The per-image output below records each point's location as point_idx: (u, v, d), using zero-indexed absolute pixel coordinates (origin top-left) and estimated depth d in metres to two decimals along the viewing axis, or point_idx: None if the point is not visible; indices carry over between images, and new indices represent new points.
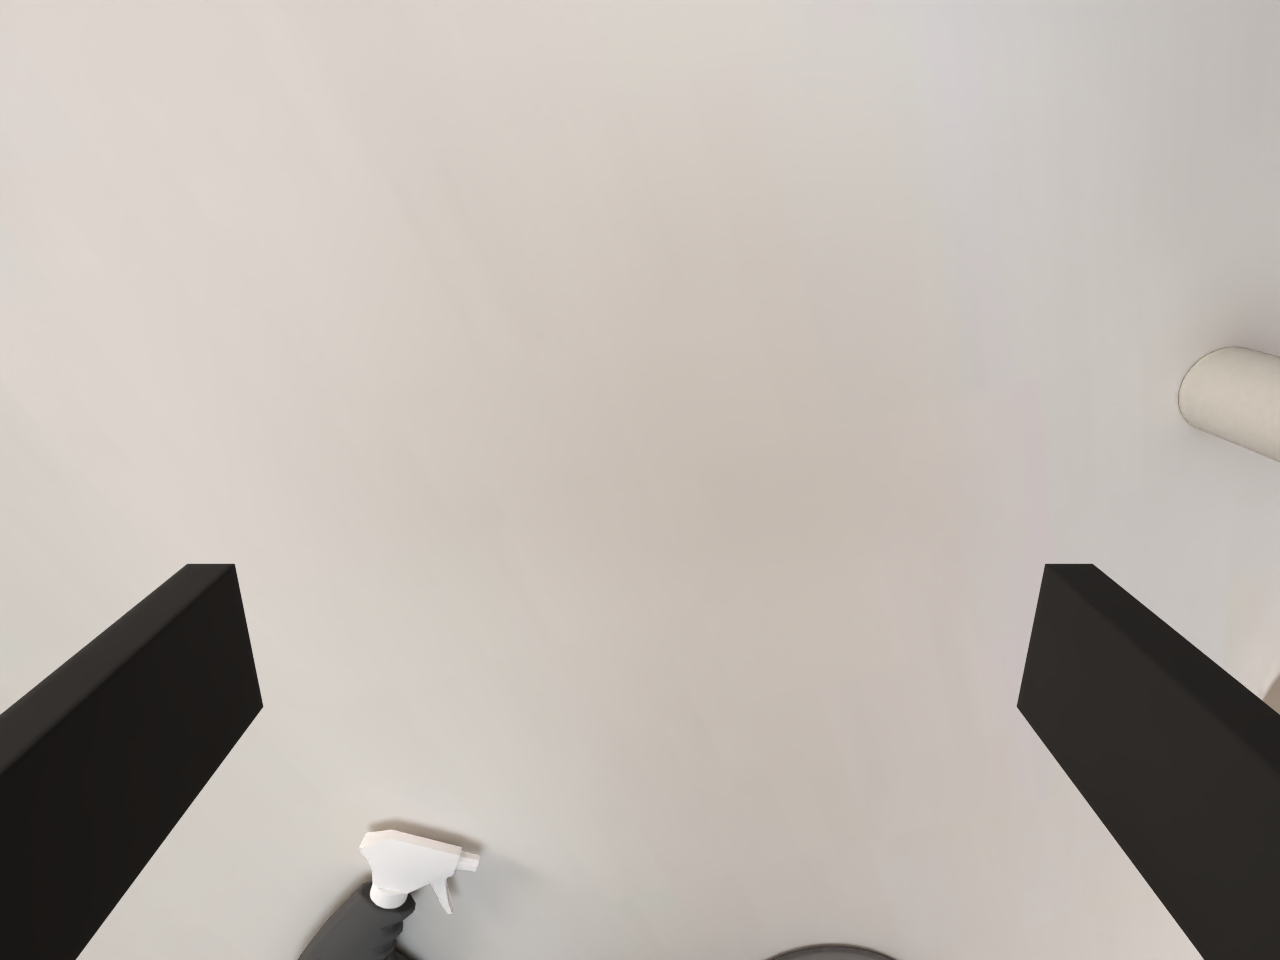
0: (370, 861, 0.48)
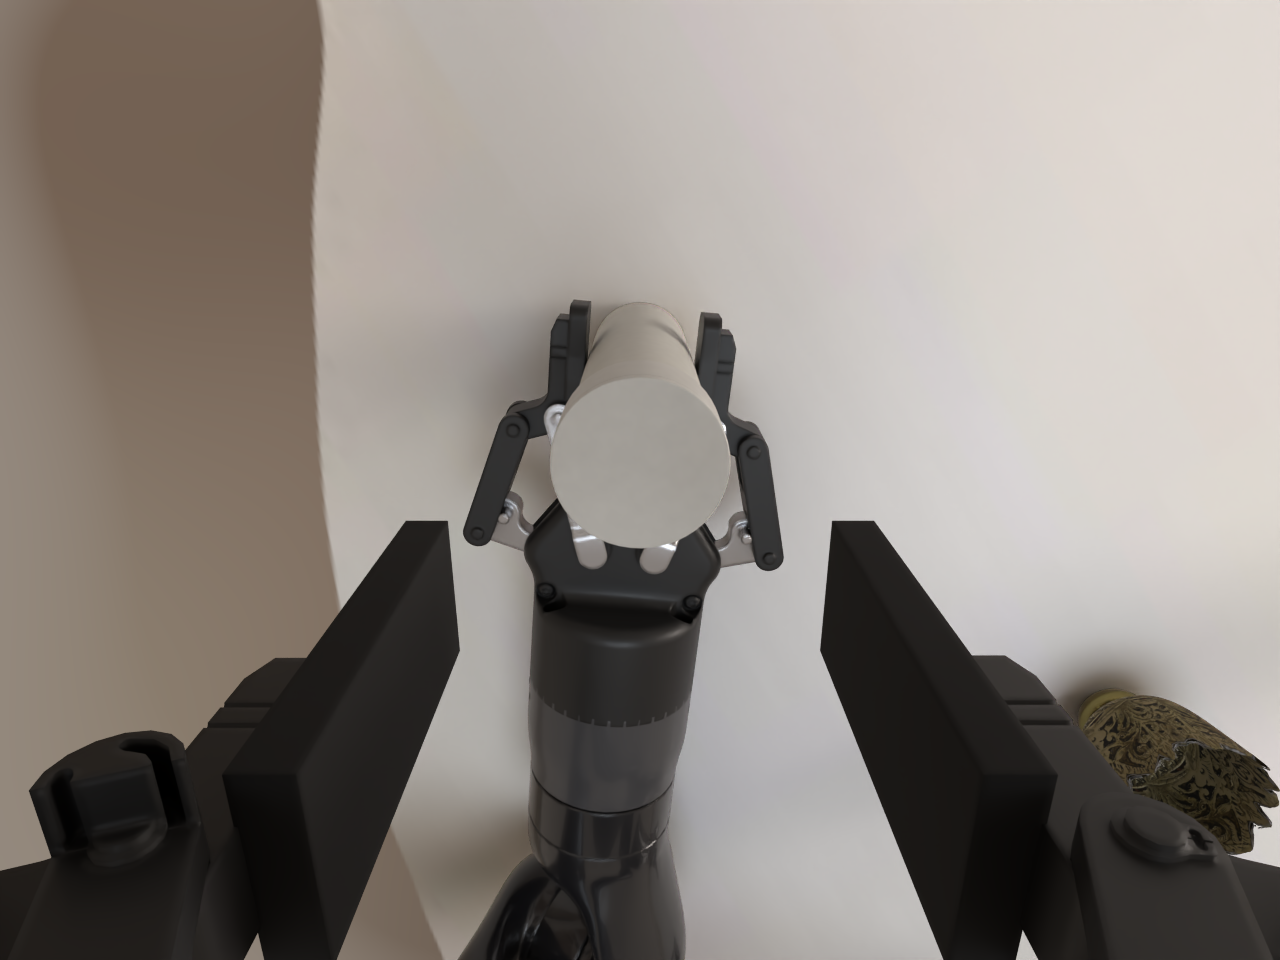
0: None
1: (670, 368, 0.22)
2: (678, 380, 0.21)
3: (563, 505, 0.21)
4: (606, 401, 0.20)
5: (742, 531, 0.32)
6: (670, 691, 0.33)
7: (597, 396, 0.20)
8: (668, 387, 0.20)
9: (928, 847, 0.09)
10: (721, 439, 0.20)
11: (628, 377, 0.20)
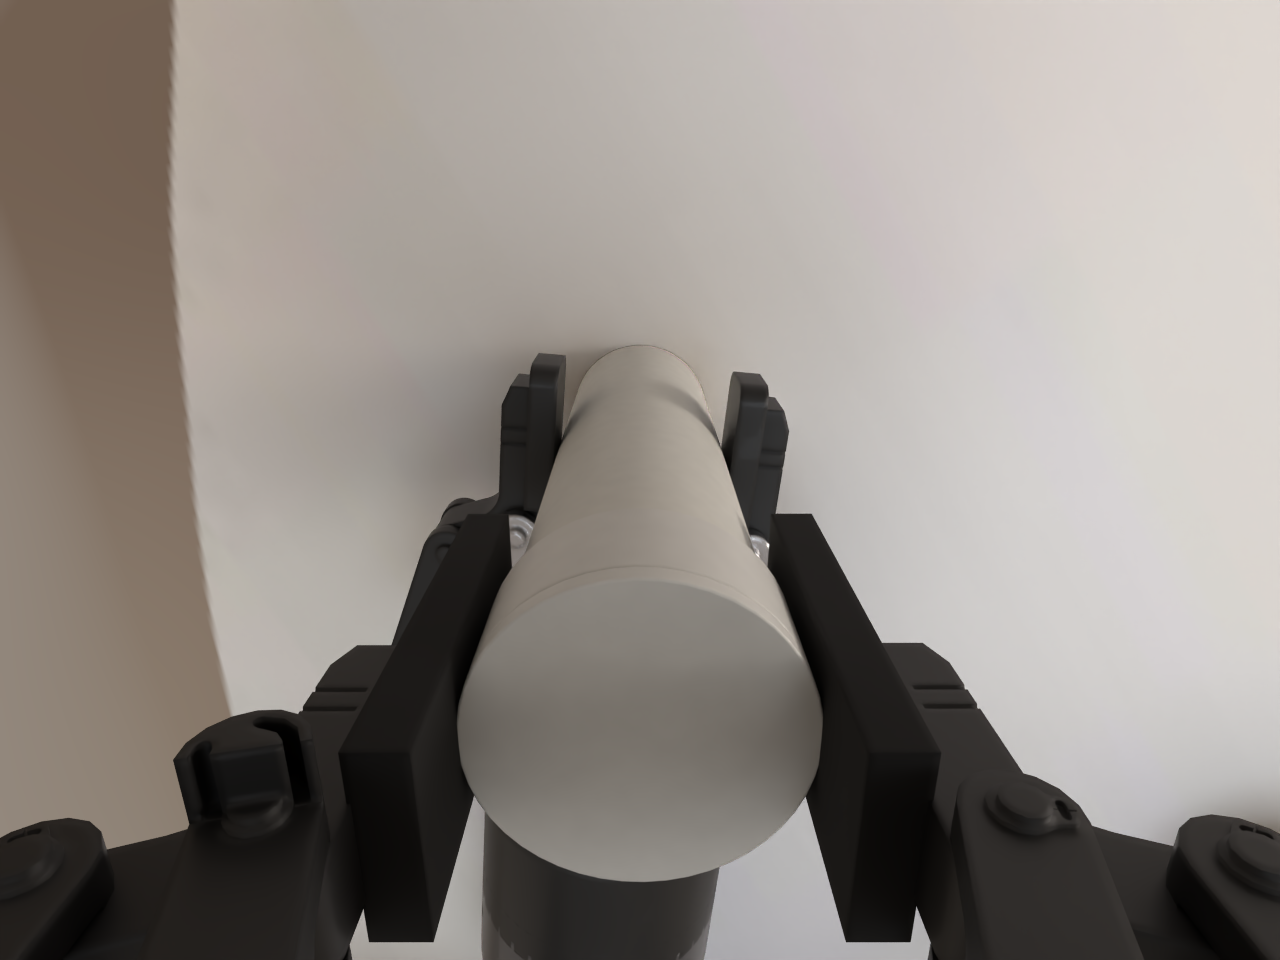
0: None
1: (699, 529, 0.11)
2: (719, 572, 0.10)
3: (487, 810, 0.11)
4: (569, 624, 0.10)
5: None
6: (685, 925, 0.22)
7: (550, 615, 0.10)
8: (700, 598, 0.09)
9: (833, 825, 0.10)
10: (808, 695, 0.10)
11: (615, 577, 0.09)
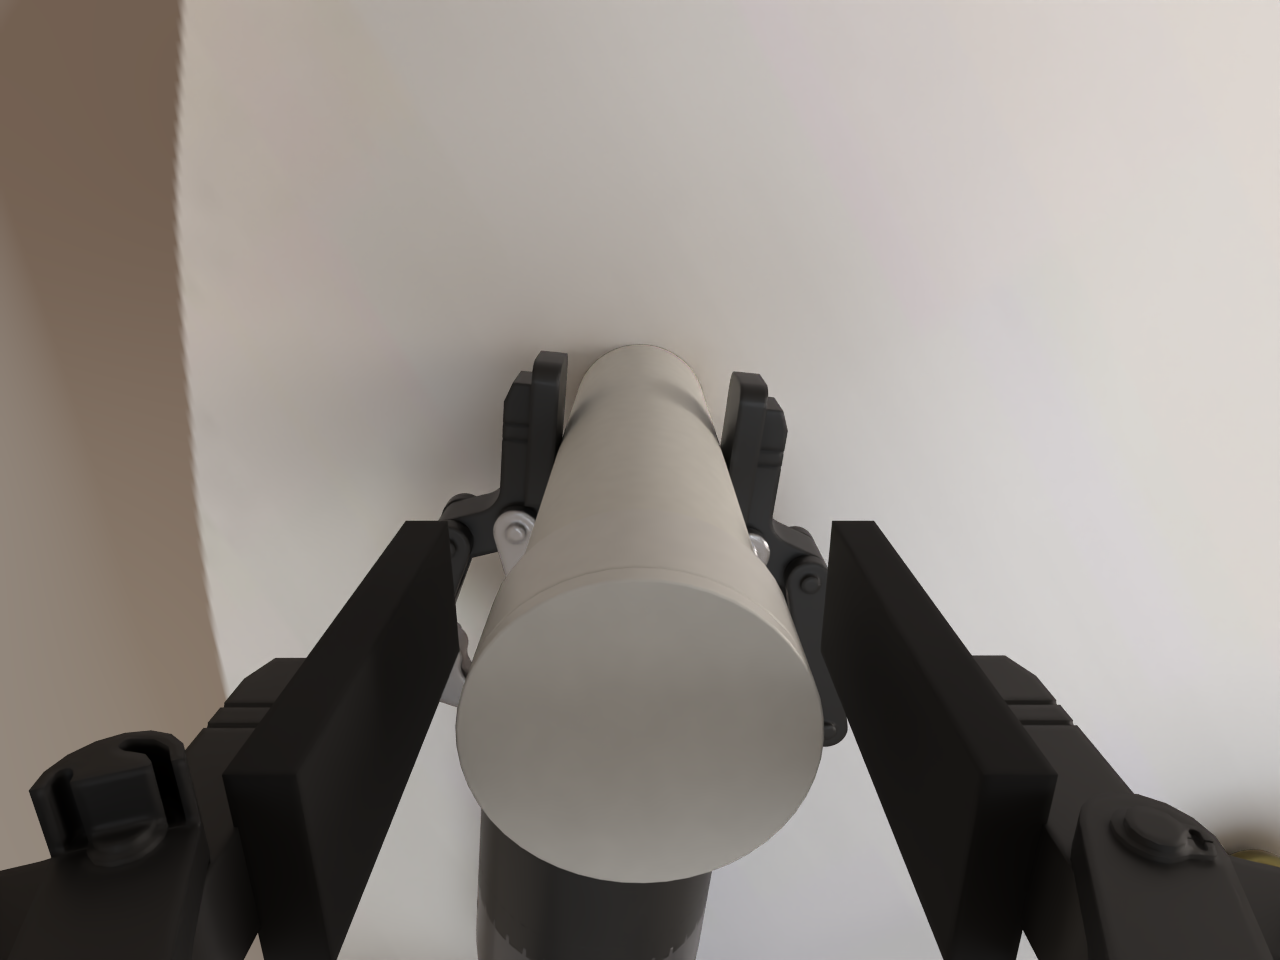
0: None
1: (518, 569, 0.11)
2: (514, 601, 0.10)
3: (657, 879, 0.11)
4: (489, 752, 0.10)
5: None
6: (678, 919, 0.22)
7: (474, 761, 0.10)
8: (502, 645, 0.10)
9: (928, 847, 0.09)
10: (649, 591, 0.09)
11: (460, 699, 0.10)
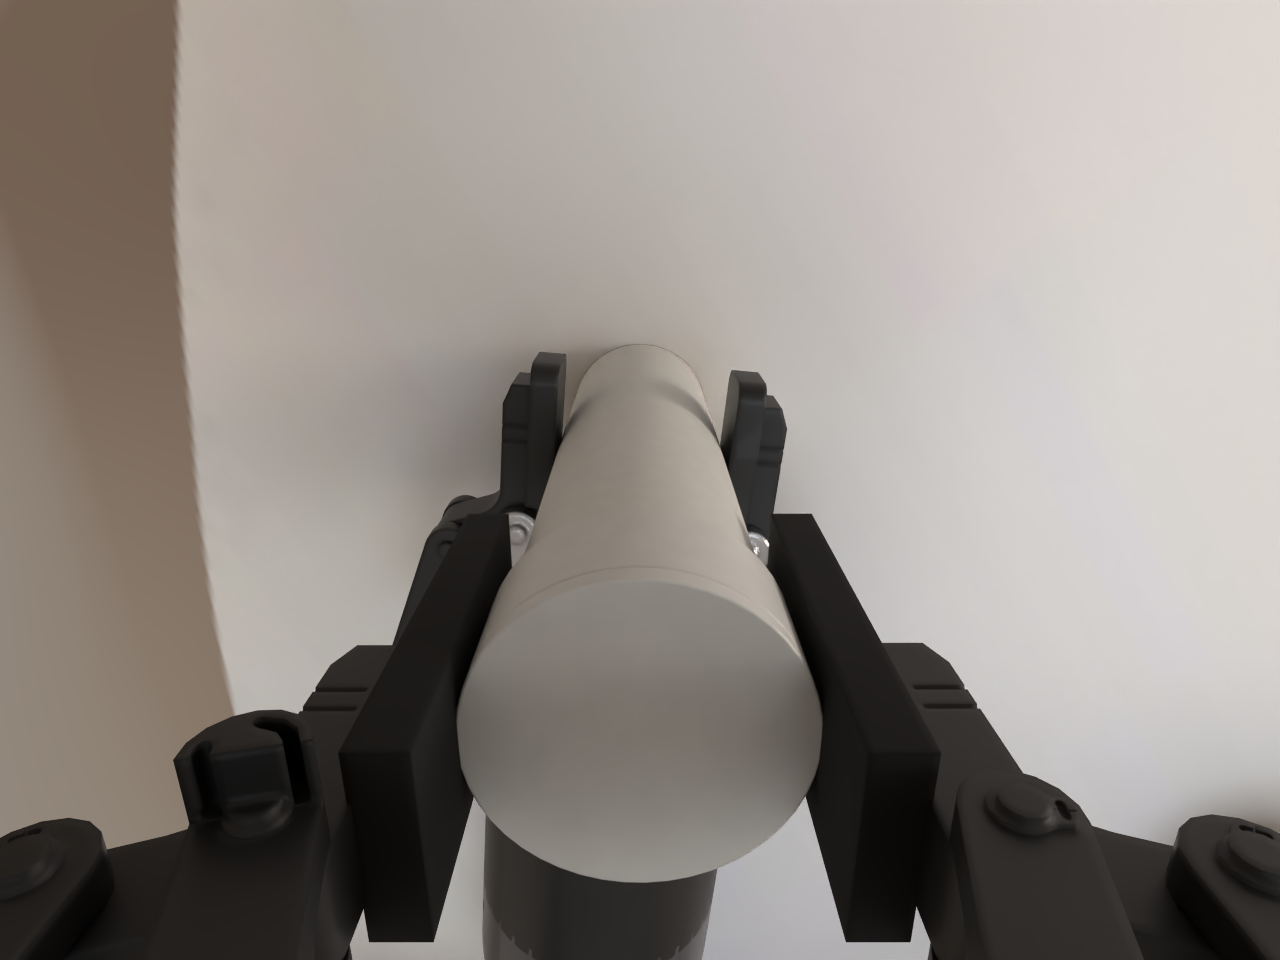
0: None
1: (516, 570, 0.11)
2: (512, 602, 0.10)
3: (658, 879, 0.11)
4: (489, 753, 0.10)
5: None
6: (684, 918, 0.22)
7: (475, 762, 0.10)
8: (500, 646, 0.10)
9: (834, 826, 0.10)
10: (647, 590, 0.09)
11: (459, 700, 0.10)
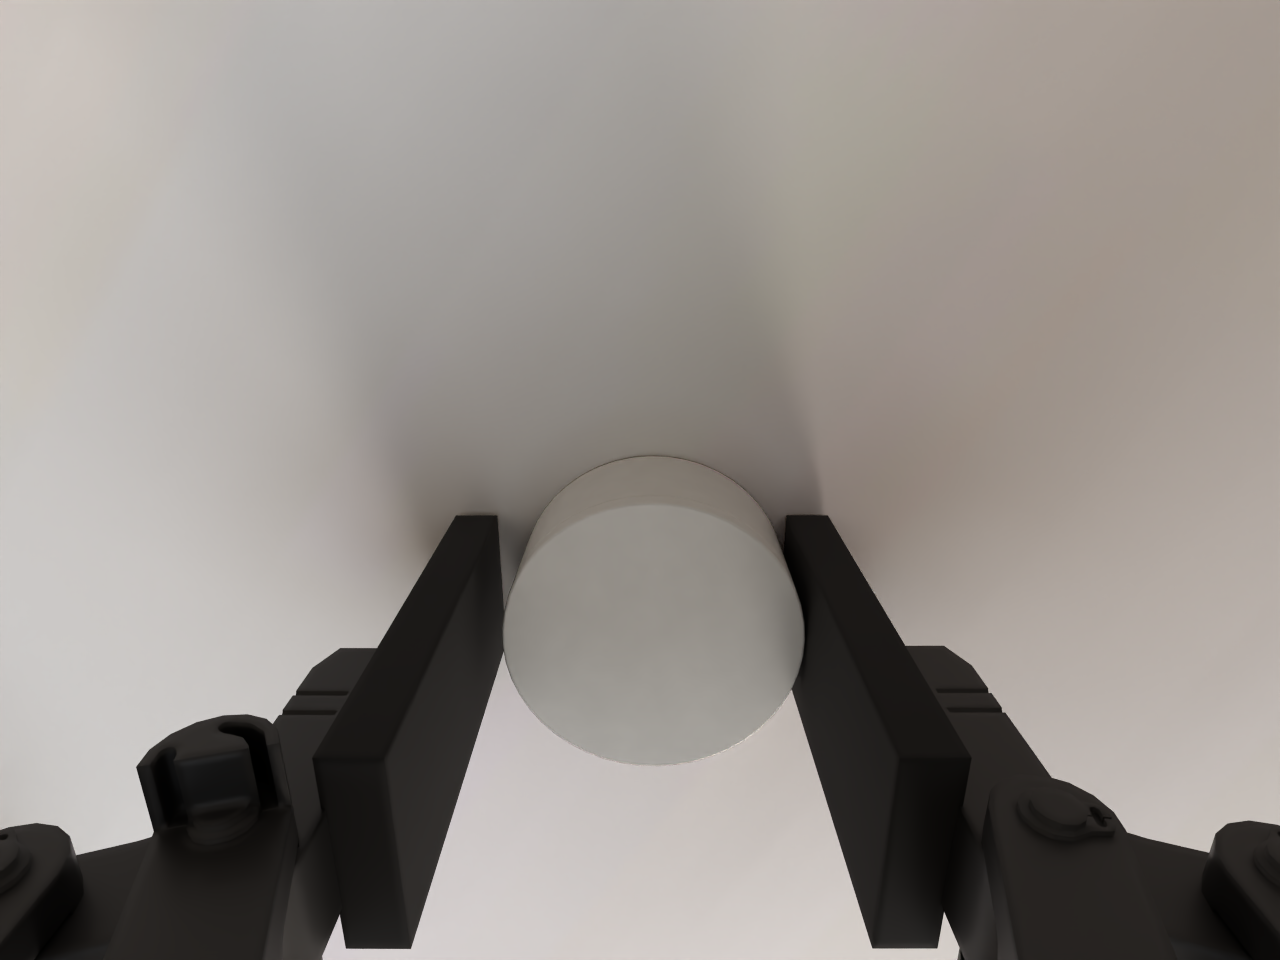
0: None
1: (551, 506, 0.14)
2: (549, 526, 0.12)
3: (667, 763, 0.13)
4: (529, 650, 0.13)
5: None
6: None
7: (517, 658, 0.13)
8: (541, 559, 0.12)
9: (858, 831, 0.09)
10: (660, 512, 0.12)
11: (506, 605, 0.12)
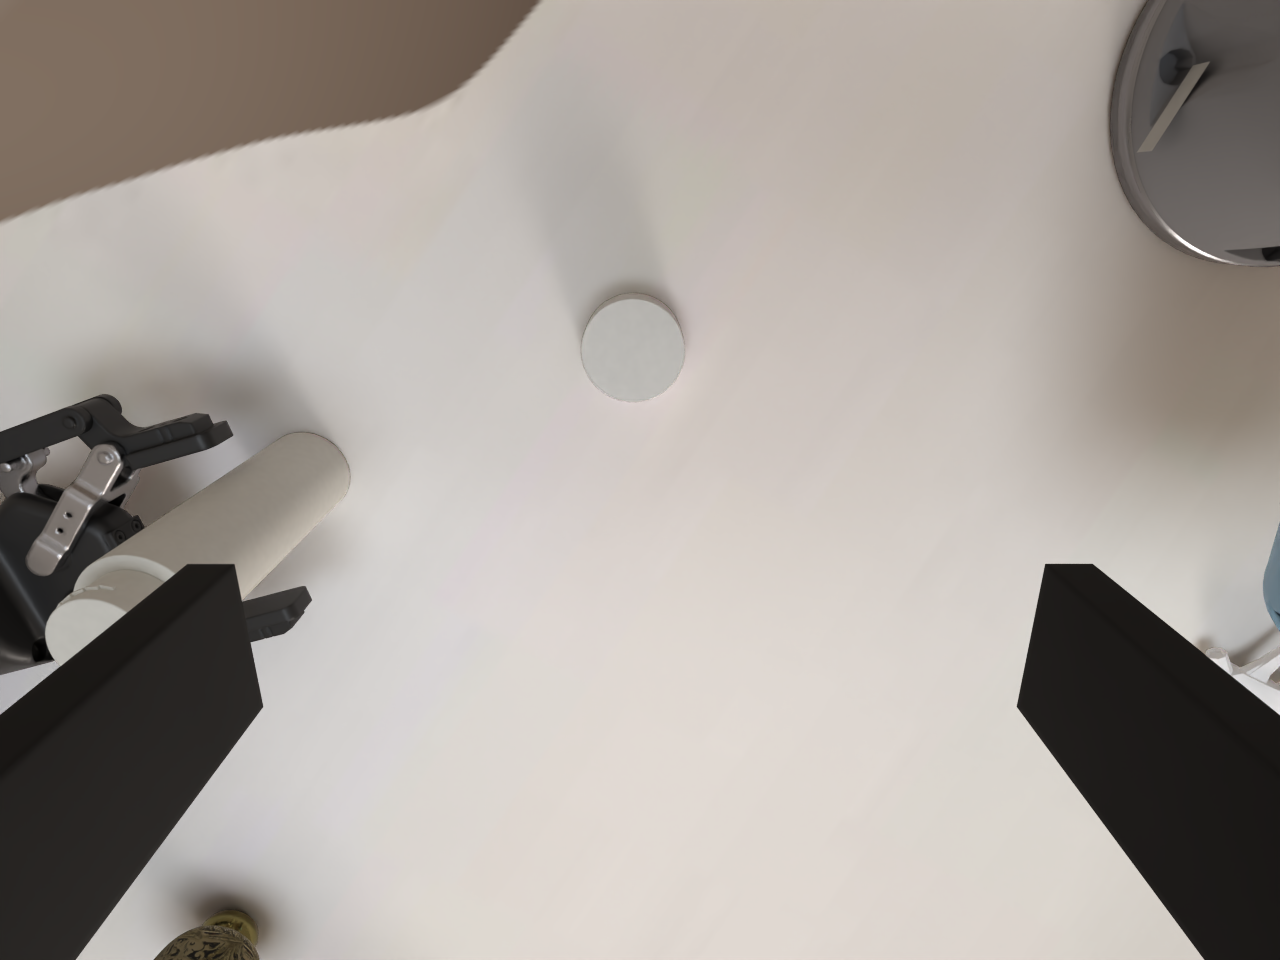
0: None
1: None
2: (597, 311, 0.36)
3: (638, 401, 0.37)
4: (590, 354, 0.36)
5: None
6: None
7: (586, 358, 0.36)
8: (595, 319, 0.36)
9: None
10: (634, 302, 0.35)
11: (582, 338, 0.36)
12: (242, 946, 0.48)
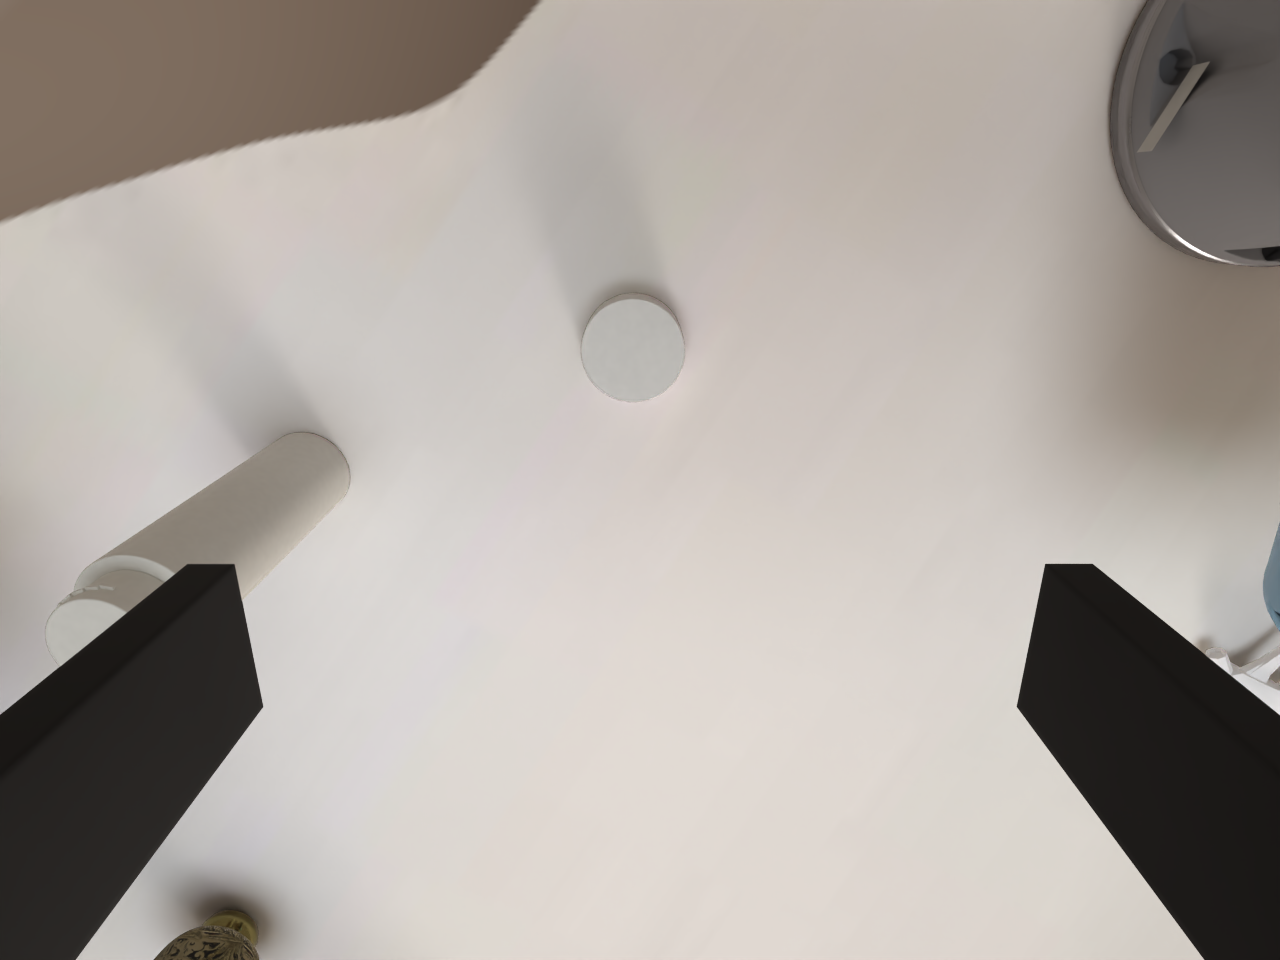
0: None
1: None
2: (597, 311, 0.36)
3: (638, 401, 0.37)
4: (590, 354, 0.36)
5: None
6: None
7: (586, 358, 0.36)
8: (595, 319, 0.36)
9: None
10: (634, 302, 0.35)
11: (582, 338, 0.36)
12: (242, 946, 0.48)
